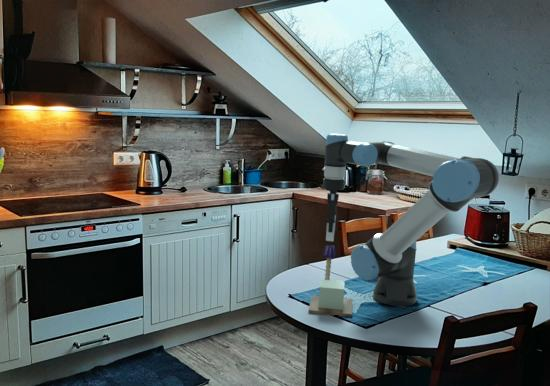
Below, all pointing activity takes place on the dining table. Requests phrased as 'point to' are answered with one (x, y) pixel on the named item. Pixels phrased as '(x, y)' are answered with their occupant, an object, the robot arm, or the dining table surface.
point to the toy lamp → (329, 259)
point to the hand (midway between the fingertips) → (330, 236)
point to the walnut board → (326, 311)
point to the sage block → (331, 294)
